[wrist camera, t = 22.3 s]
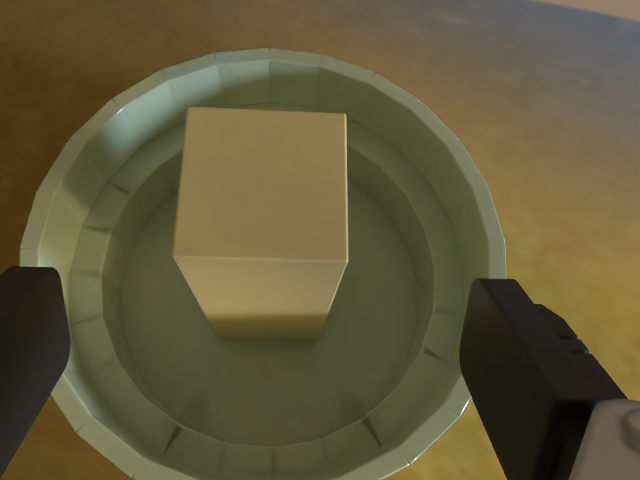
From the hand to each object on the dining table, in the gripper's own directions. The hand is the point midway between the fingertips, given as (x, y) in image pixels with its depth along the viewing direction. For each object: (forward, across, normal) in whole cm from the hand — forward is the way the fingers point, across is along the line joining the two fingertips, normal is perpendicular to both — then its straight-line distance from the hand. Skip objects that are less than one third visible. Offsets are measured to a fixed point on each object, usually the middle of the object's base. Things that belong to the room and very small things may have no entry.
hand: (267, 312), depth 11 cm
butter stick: (+10, 0, +5) cm, 12 cm away
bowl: (+11, 0, +6) cm, 12 cm away
